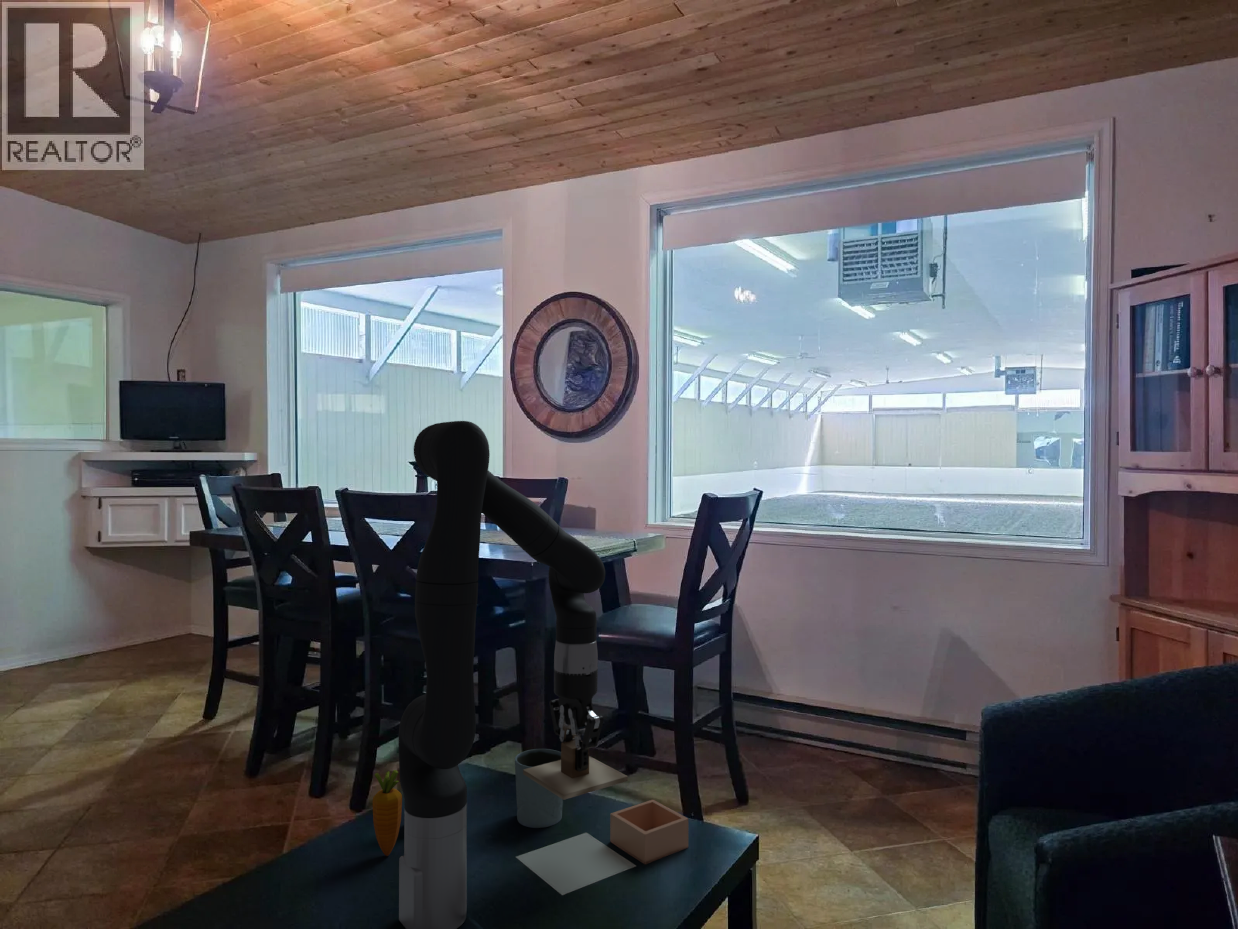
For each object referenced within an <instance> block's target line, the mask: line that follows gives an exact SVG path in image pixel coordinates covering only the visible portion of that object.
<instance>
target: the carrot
mask: <svg viewBox="0 0 1238 929" xmlns="http://www.w3.org/2000/svg"><path fill="white" fill-rule="evenodd" d="M390 772H391V771H386V772H385V777H384V778H383V779H382V777H381V775H380V774H379V773H378V772H376V773H374V777H375V778H376V780H377V781H378V784H379V786H380V788H381V789H380V790H378V791H377V792H376V793H375V795H373V796H372V815H373V816H372V820H373V828H374V833H375V838H376V840H377V843H378V846H379V848H380V850H381V851H382V853H383V855H384V856H385V857H388V856H389V855H390V854H392V851H393V849H394V847H395V845H396V843H397V839H398V837H399V832H400V827H401V822H402V813H403V812H402V807H403V795H402V794H403V793H401V792H400V791H399V790H398V789H397V788H394V787H395V786H396V785H397V784H398V783H400V780H396V779H397V777H398V775H399V770H397V769H394V770H393V771H392V773H390ZM390 774H391V775H390Z"/></svg>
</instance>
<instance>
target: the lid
mask: <svg viewBox="0 0 1238 929" xmlns="http://www.w3.org/2000/svg"><path fill="white" fill-rule="evenodd" d="M581 742H582V740H581ZM575 749H576V745H575V739H573V740H571V741H567V742H563V743H562V742H561V743H560V750H561V751H560V752H561V760H558V761H554V762H550V763H546V764H543V765H539V766H535V767H531V768H527V769H523V774H524V775H525V776H527V777H528V778H530V779H532V780H533V781H535V782H536V783H538V784H540V785H541V786H543V787H544V788H546V789H547V790H549V791H551V792H552V793H554V794H555V795H557V796H558V797H560V798H562V799H563V800H567V799H571V798H575V797H579V796H582V795H584V794H588V793H591V792H595V791H598V790H602V789H605V788H609V787H612V786H616V785H618V784H619V785H620V784H622V783H623V784H624V783H625V782H628V780H629V778H628V777H629V776H628V775H626V774H624V773H622V772H620V771H619V770H617V769H615V768H613V767H612V766H609V765H607V764H605V763H603V762H601V761H599V760H598V759H596V758H594V757H592V756H590V755H589V756H588V768H587V769H586V770H583V771H580V772H579V771H577V770H576V769H575Z"/></svg>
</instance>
